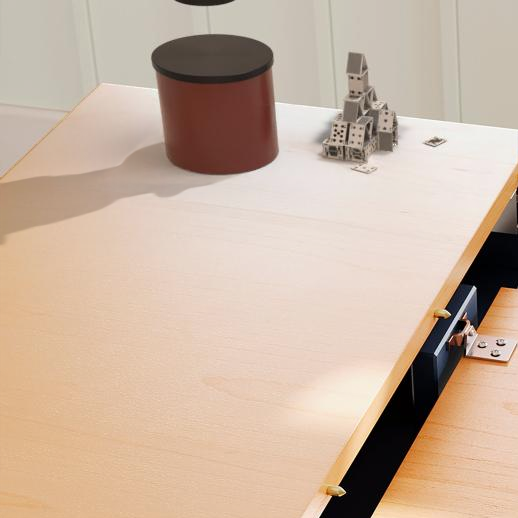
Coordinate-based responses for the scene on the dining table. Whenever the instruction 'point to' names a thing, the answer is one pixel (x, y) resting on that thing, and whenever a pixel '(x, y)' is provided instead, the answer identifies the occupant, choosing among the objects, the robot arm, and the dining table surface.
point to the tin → (217, 103)
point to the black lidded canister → (204, 2)
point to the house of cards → (363, 121)
